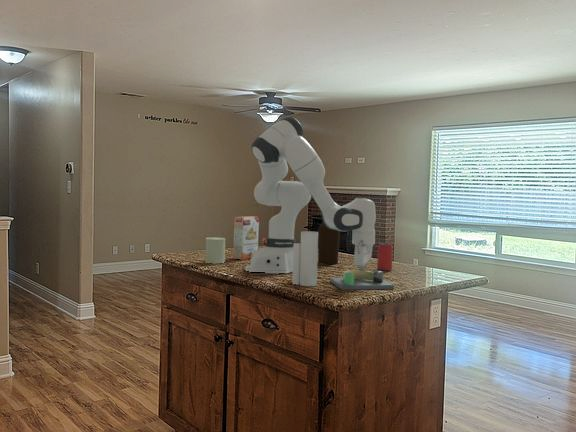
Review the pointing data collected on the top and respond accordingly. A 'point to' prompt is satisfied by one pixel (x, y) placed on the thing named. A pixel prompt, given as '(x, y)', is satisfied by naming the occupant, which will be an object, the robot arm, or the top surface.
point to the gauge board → (358, 283)
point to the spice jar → (368, 275)
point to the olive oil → (328, 245)
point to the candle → (305, 259)
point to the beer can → (385, 256)
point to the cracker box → (245, 237)
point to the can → (215, 250)
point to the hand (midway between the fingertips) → (362, 274)
